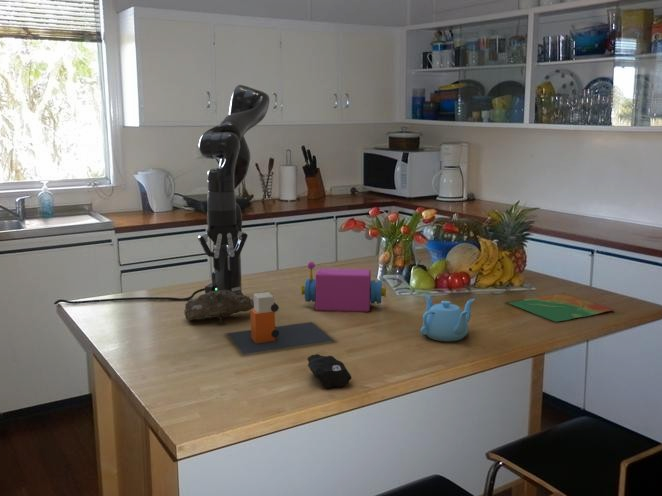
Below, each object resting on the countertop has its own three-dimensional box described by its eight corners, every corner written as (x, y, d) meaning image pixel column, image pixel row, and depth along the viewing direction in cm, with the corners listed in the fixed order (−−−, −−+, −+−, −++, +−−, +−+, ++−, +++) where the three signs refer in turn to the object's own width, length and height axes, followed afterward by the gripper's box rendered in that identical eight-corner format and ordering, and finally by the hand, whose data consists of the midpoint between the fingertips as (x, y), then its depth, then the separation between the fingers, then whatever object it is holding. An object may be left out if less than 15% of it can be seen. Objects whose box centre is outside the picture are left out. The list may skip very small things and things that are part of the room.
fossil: (252, 297, 214) (254, 278, 201) (258, 325, 210) (260, 307, 197) (183, 310, 209) (180, 291, 196) (188, 338, 205) (186, 321, 192)
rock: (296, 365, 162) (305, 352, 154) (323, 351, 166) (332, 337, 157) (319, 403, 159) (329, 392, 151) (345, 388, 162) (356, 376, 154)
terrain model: (563, 294, 233) (563, 292, 233) (614, 311, 213) (615, 309, 213) (507, 302, 223) (507, 301, 222) (555, 321, 203) (555, 319, 202)
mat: (243, 355, 175) (243, 353, 175) (227, 334, 192) (227, 333, 192) (334, 342, 185) (334, 340, 185) (311, 323, 202) (311, 322, 202)
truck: (256, 343, 183) (255, 298, 181) (250, 337, 188) (249, 293, 185) (279, 340, 186) (278, 296, 183) (273, 334, 190) (272, 291, 188)
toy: (385, 304, 221) (386, 260, 218) (385, 312, 212) (385, 267, 210) (303, 302, 224) (303, 259, 221) (299, 310, 215) (299, 265, 212)
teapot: (414, 341, 186) (415, 306, 184) (424, 324, 200) (425, 292, 198) (466, 346, 182) (468, 311, 180) (473, 329, 196) (475, 296, 194)
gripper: (243, 204, 183) (245, 265, 186) (192, 207, 178) (195, 269, 181) (251, 207, 176) (252, 271, 179) (198, 211, 171) (201, 276, 174)
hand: (223, 270), depth 180 cm, fingers open, 3 cm apart
